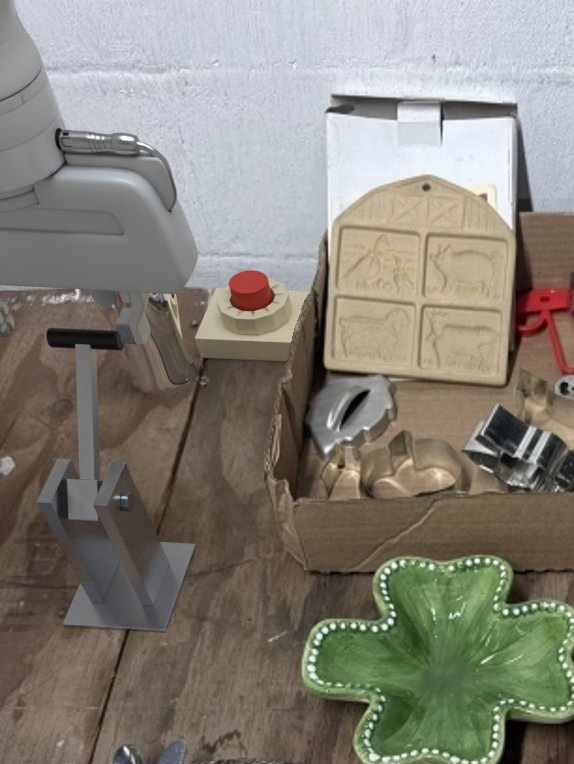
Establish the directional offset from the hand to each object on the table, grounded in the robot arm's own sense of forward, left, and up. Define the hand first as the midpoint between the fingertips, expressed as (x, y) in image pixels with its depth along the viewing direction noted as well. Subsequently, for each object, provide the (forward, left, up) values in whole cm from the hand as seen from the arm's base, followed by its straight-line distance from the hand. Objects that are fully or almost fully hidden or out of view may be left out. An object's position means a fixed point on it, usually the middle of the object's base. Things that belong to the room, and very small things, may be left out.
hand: (69, 335), depth 73 cm
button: (+3, +27, -16) cm, 31 cm away
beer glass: (-4, +19, -19) cm, 28 cm away
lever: (0, -2, -6) cm, 7 cm away
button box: (+3, +27, -19) cm, 33 cm away
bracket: (0, -6, -19) cm, 20 cm away
